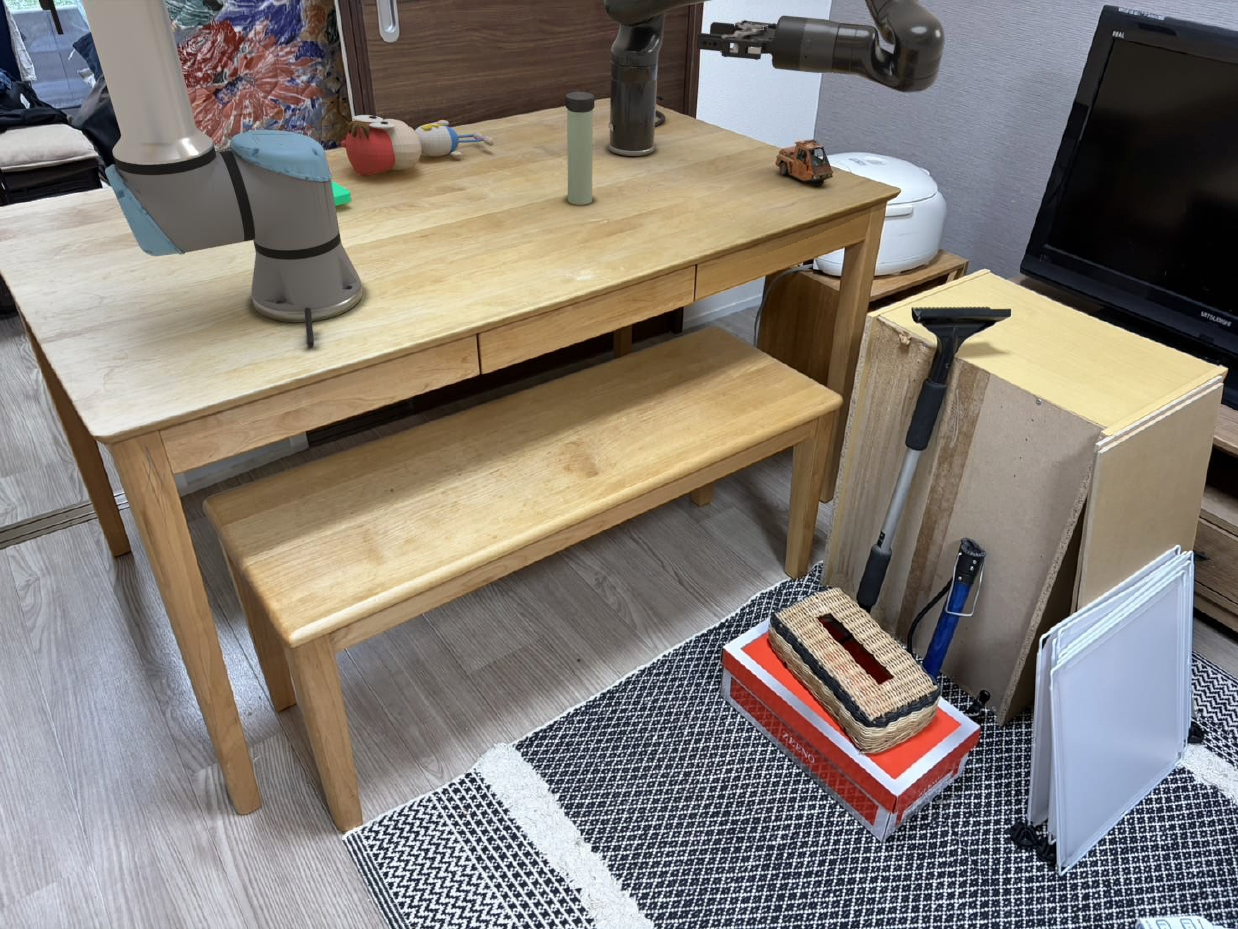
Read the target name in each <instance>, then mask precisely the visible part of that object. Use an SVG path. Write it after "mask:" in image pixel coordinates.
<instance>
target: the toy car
mask: <svg viewBox="0 0 1238 929" xmlns="http://www.w3.org/2000/svg"><path fill="white" fill-rule="evenodd" d="M794 144H795V145H793V146H789V147H783V148H781V149H780V150H779V151H778V154H777V155H776V160H775V162H774V164H775V166H776V167H778V168H779V173H780V174H781V175H785V176H786V175H787V176H788V177H793V178H794V179H797V180H799V181H801V182H804V183H812V182H815V183H814V184H815V185H816V186H819V187H822V186H823V185H824V184H825V181H826V180H829V179H832V178H833V177H834V176H833V174H834V171H833V169H832V166H831V163H830V161H829V159H828V158H829V157H828V156H827V153H826V151H825V146H823V145H822V144H820V143H818V142H817V140H815V139H814V138H812V139H811V138H810V139H804V140H799V141H794ZM818 150H821V151H822V158H821V157H819V154H817V155H816V153H815V152H816V151H818Z"/></svg>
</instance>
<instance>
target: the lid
mask: <svg viewBox="0 0 1238 929" xmlns="http://www.w3.org/2000/svg"><path fill="white" fill-rule="evenodd" d="M595 101H596V100H595V95H594V94H593V93H590V92H588V91H587V92H586V91H573V92H569V93H566V95H565V108H566V110H567V109H568V110H571V111H578V112H584V111H590V110H592V109H593V110H594V109H595Z"/></svg>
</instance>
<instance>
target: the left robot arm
mask: <svg viewBox="0 0 1238 929" xmlns="http://www.w3.org/2000/svg"><path fill="white" fill-rule="evenodd" d="M81 2H82V6H83V10H84V13H85V16H86V19H87V23H88V26H89V30H90V33H91V37H92V39H93V43H94V44H93V45H94V47H95V50H96V53H97V58H98V60H99V63H100V67H101V70H102V74H103V77H104V81H105V84H106V87H107V92H108V93H109V98H110V101H111V104H112V107H113V112H114V115H115V118H116V122H117V125H118V128H119V131H120V138H119V139H118V141H117V142H116V144H115V145H114V147H113V148H112V155H113V159H114V162H115V164H113V163H112V164H111V165H110V166H108V167H106V168H105V170H104V173H105V175H106V177H107V180H108V182H109V184H110V187H111V189H112V191H113V193H114V195H115V197H116V200H117V202H118V205H119V206H120V209H121V211H122V213H123V215H124V218H125V219H126V222H127V224H128V227H129V229H130V230H131V232H132V234H133V235H132V236H133V237H134V239H135V240H136V243H137V245H138V247H139V248H140V249H141V251H143V252H144V253H145V254H147V255H149V256H151V257H162V256H164V257H165V256H171V255H178V254H179V255H185V254H186V253H191V252H197V251H203V250H208V249H213V248H218V247H224V246H228V245H234V244H235V245H236V244H240V243H245V242H251V241H252V242H253V247H254V251H255V258H254V264H253V273H252V283H251V291H250V293H251V299H252V303H253V307H254V309H255V310H256V311H257V313H259V314H260V315H262V316H264V317H266V318H268V319H271V320H275V321H281V322H289V323H304V322H305V329H306V330H305V332H306V344H307V347H309V348H313V347H314V346H315V338H314V327H313V322H314V321H315V322H316V321H320V320H326V319H330V318H332V317H336V316H338V315H341V314H343V313H345V312H348V311H349V310H351V309H353V308H354V307H355V306H356V305H357V304H358V303H359V302H360V301H361V298H362V297H363V287H362V282H361V278H360V276H359V274H358V272H357V270H356V268H355V266H354V264H353V263H352V261H351V259H350V257H349V255H348V253H347V251H346V250H345V248H344V245H343V243H342V239H341V233H340V225H339V220H338V214H337V207H336V206H335V201H334V195H333V188H332V182H331V181H333V174H332V172H331V169H330V166H329V161H328V158H327V154H326V151H325V149H324V147H323V145H322V144H321V143H320V142H318V141H317V140H315V139H314V138H312V137H310V136H308V135H304V134H301V133H297V132H292V131H287V130H278V129H277V130H276V129H254V130H247V131H243V132H241V133H239V132H238V133H237V134H235V135H233V137H231V139H230V144H229V147H230V149H228V150H220V151H216V148H215V144H214V140H213V138H211V137H210V136H209V135H207V134H206V133H204V132H203V131H201V130H200V129H199V128H198V127H197V124H196V121H195V115H194V112H193V108H192V104H191V99H190V96H189V91H188V87H187V83H186V79H185V76H184V72H183V67H182V62H181V59H180V55H179V51H178V50H179V49H178V48H177V41H176V39H175V35H174V30H173V26H172V22H171V17H170V15H169V14H170V13H169V10H168V6H167V2H166V0H81ZM38 4H39V6H40V8H41V9H42V11H50V14H51V18H52V20H53V23H54V26H55V29H56V30H55V31H56V32H57V35H58V36H61V35H65V34H64V30H63V27H62V24H61V20H60V18H59V14H58V12H57V8H56V5H55V2H54V0H38Z"/></svg>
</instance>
